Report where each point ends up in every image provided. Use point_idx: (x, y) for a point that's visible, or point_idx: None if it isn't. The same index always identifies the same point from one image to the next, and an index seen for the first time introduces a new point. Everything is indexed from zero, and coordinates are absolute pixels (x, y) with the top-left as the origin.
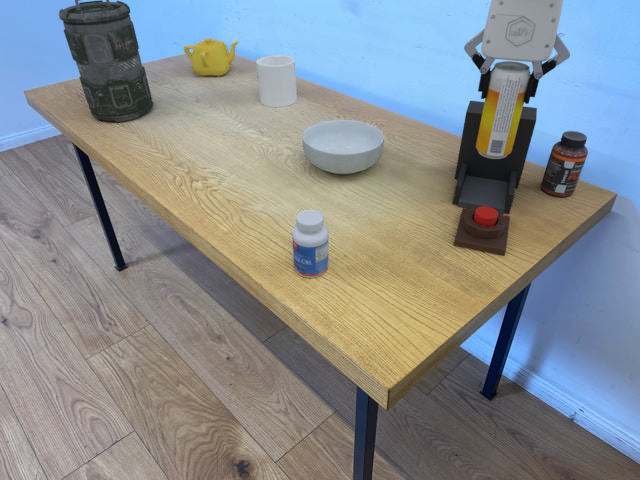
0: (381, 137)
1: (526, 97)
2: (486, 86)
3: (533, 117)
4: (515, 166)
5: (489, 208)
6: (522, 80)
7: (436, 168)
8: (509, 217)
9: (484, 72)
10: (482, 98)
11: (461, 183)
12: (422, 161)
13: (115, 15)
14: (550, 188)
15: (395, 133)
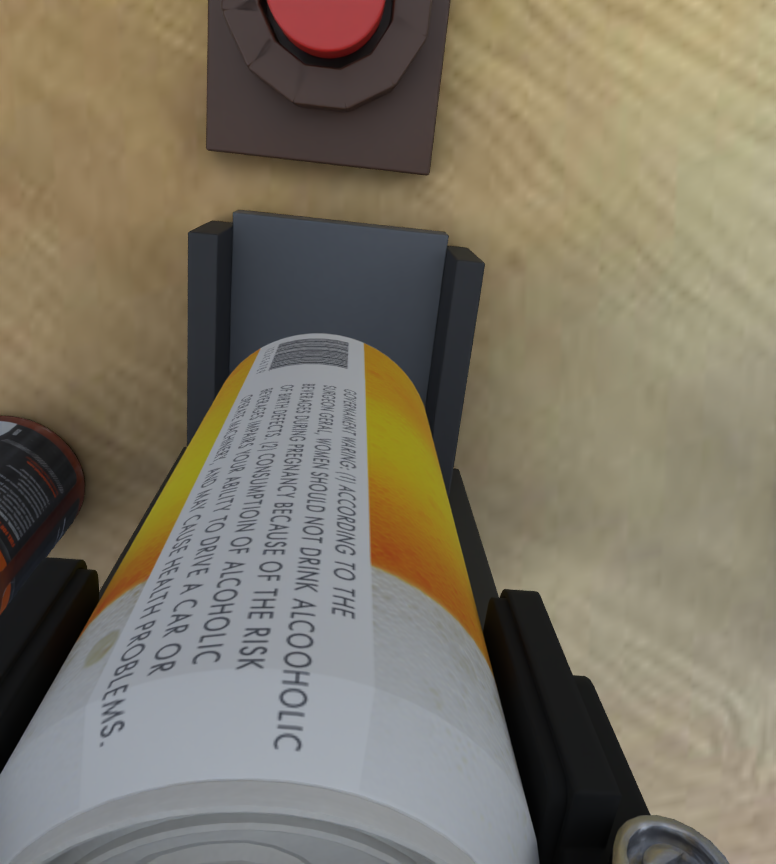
0: None
1: (61, 598)
2: (531, 680)
3: None
4: None
5: (312, 27)
6: (71, 706)
7: (536, 538)
8: (207, 138)
9: (638, 846)
10: (518, 592)
11: (456, 292)
12: (596, 582)
13: None
14: (36, 436)
15: (705, 776)
